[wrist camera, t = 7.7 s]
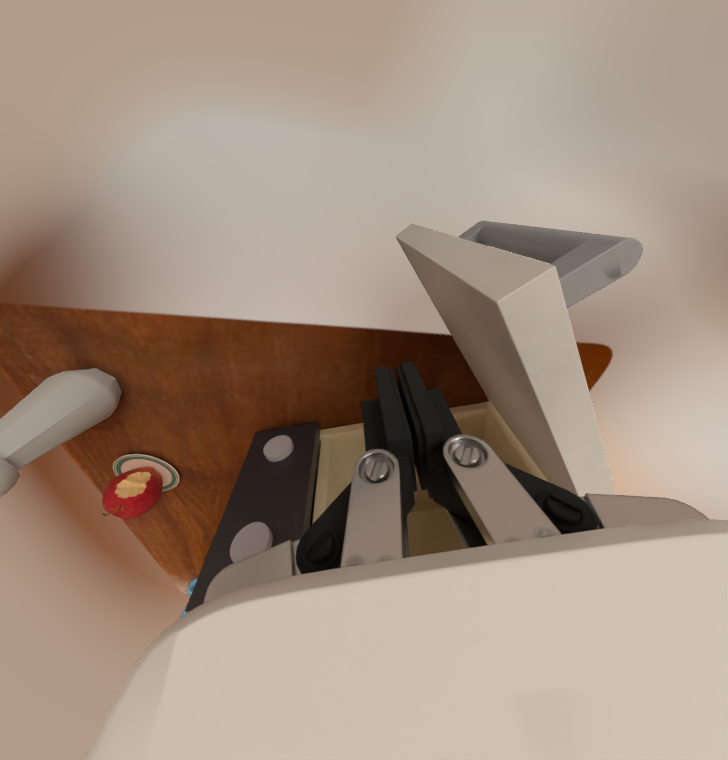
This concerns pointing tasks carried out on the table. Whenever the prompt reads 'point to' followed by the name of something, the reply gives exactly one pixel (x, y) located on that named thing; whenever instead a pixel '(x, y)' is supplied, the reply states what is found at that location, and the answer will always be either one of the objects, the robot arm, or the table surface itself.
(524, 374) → the microwave door
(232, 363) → the table surface
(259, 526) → the microwave
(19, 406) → the salt shaker
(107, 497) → the apple
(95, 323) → the table surface
